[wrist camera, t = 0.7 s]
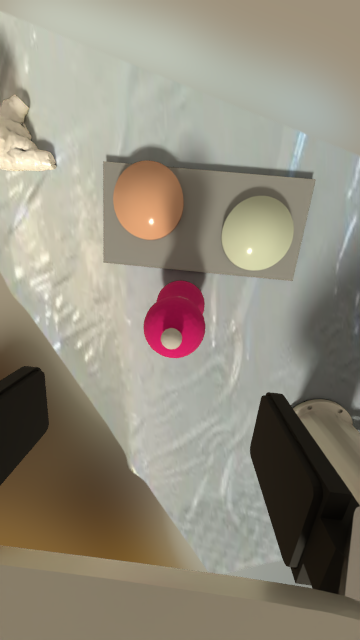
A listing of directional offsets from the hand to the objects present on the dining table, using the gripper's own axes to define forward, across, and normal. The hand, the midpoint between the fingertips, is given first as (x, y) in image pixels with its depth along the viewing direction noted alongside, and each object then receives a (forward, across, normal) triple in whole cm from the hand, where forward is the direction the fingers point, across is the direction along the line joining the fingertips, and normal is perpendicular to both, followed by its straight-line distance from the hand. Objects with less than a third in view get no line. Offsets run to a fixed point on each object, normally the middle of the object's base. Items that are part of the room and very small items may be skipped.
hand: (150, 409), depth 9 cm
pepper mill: (+28, 0, 0) cm, 28 cm away
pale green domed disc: (+27, -10, -11) cm, 31 cm away
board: (+28, -2, -12) cm, 31 cm away
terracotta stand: (+27, +6, -14) cm, 31 cm away
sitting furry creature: (+28, +26, -20) cm, 43 cm away
